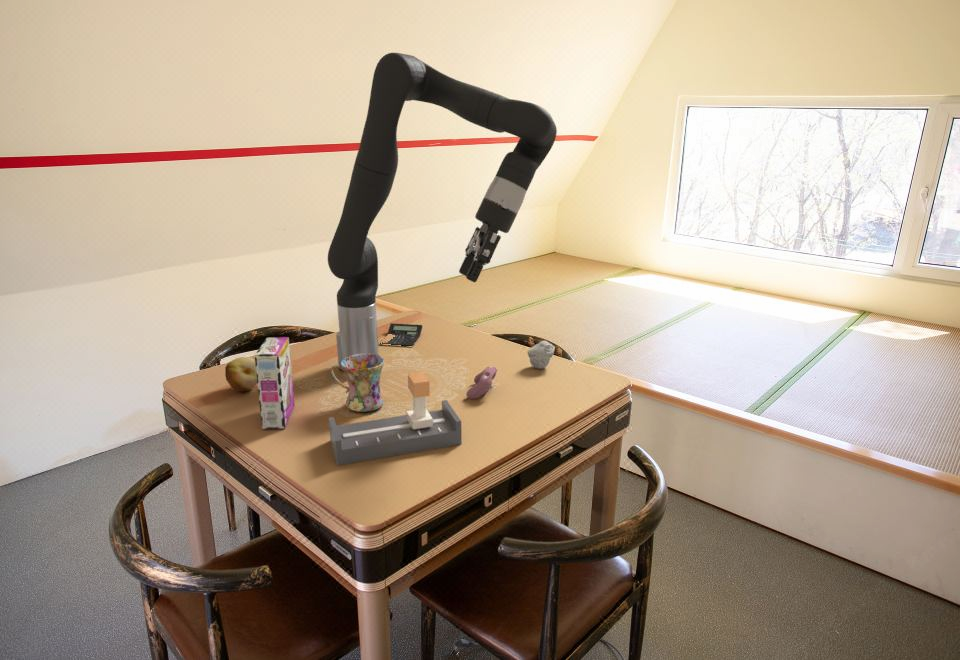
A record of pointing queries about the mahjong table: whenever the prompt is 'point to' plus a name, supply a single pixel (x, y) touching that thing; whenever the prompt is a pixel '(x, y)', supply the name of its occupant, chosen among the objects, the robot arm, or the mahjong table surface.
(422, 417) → the fader knob
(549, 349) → the grey lumpy stone
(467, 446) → the mahjong table surface
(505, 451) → the mahjong table surface
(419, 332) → the calculator
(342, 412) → the mahjong table surface
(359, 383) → the mug
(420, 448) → the fader console
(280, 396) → the candy bar box
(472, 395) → the pink toy animal figure
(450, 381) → the mahjong table surface
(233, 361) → the fruit
